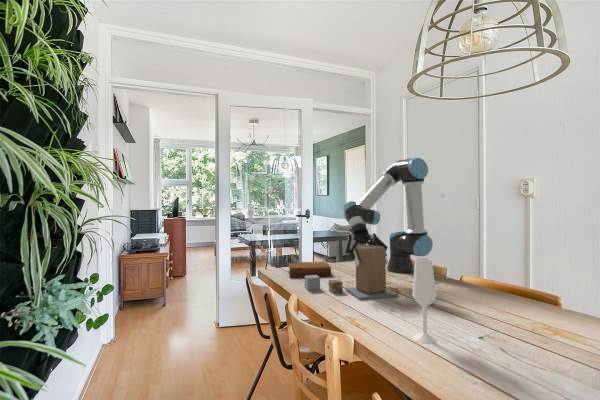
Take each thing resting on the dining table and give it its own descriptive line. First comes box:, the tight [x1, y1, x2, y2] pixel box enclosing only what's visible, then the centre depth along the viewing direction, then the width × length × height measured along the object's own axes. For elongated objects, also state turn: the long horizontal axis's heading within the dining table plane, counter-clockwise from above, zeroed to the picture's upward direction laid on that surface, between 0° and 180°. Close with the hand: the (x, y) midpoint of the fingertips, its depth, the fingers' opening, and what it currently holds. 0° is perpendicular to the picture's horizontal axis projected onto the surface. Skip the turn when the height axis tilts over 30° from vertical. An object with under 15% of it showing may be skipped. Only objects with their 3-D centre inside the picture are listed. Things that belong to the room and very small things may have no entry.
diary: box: [287, 260, 332, 279], centre depth 199 cm, size 23×19×6 cm
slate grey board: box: [345, 286, 399, 301], centre depth 154 cm, size 18×16×1 cm
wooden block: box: [354, 244, 387, 294], centre depth 154 cm, size 10×10×20 cm
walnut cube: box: [328, 279, 344, 294], centre depth 159 cm, size 5×5×5 cm
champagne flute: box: [412, 257, 438, 345], centre depth 103 cm, size 7×7×24 cm
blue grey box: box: [304, 275, 321, 292], centre depth 164 cm, size 6×6×6 cm
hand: (372, 264), depth 152 cm, fingers open, 13 cm apart
